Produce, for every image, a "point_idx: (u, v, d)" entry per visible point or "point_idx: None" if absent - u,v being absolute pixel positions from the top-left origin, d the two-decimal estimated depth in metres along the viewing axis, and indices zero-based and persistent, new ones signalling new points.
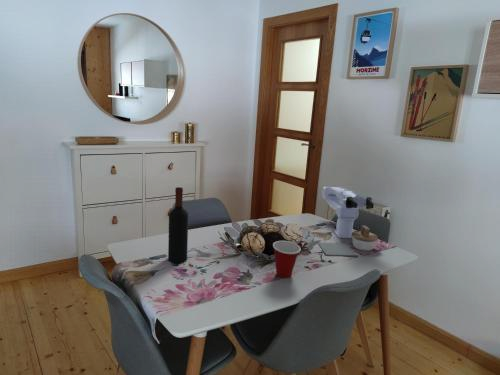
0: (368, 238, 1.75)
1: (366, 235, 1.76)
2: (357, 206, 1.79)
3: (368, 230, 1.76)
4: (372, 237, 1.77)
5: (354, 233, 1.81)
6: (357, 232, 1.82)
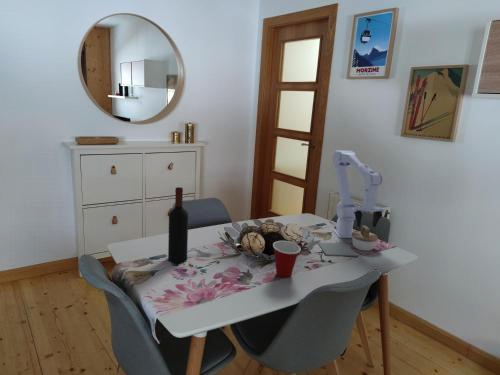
0: (368, 238, 1.75)
1: (366, 235, 1.77)
2: None
3: (368, 230, 1.76)
4: (372, 237, 1.77)
5: (354, 233, 1.81)
6: (357, 232, 1.82)
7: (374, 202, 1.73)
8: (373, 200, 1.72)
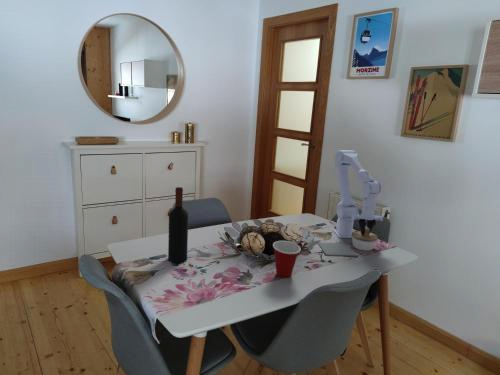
0: (368, 238, 1.75)
1: (366, 235, 1.77)
2: None
3: (368, 230, 1.76)
4: (372, 237, 1.77)
5: (354, 233, 1.81)
6: (357, 232, 1.82)
7: (373, 210, 1.74)
8: (372, 208, 1.73)
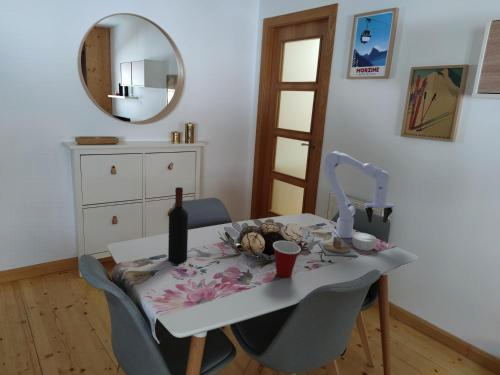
0: (340, 250, 1.71)
1: (338, 247, 1.72)
2: None
3: (340, 242, 1.72)
4: (344, 249, 1.73)
5: (326, 244, 1.76)
6: (329, 244, 1.78)
7: (384, 199, 1.80)
8: (383, 197, 1.80)
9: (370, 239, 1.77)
